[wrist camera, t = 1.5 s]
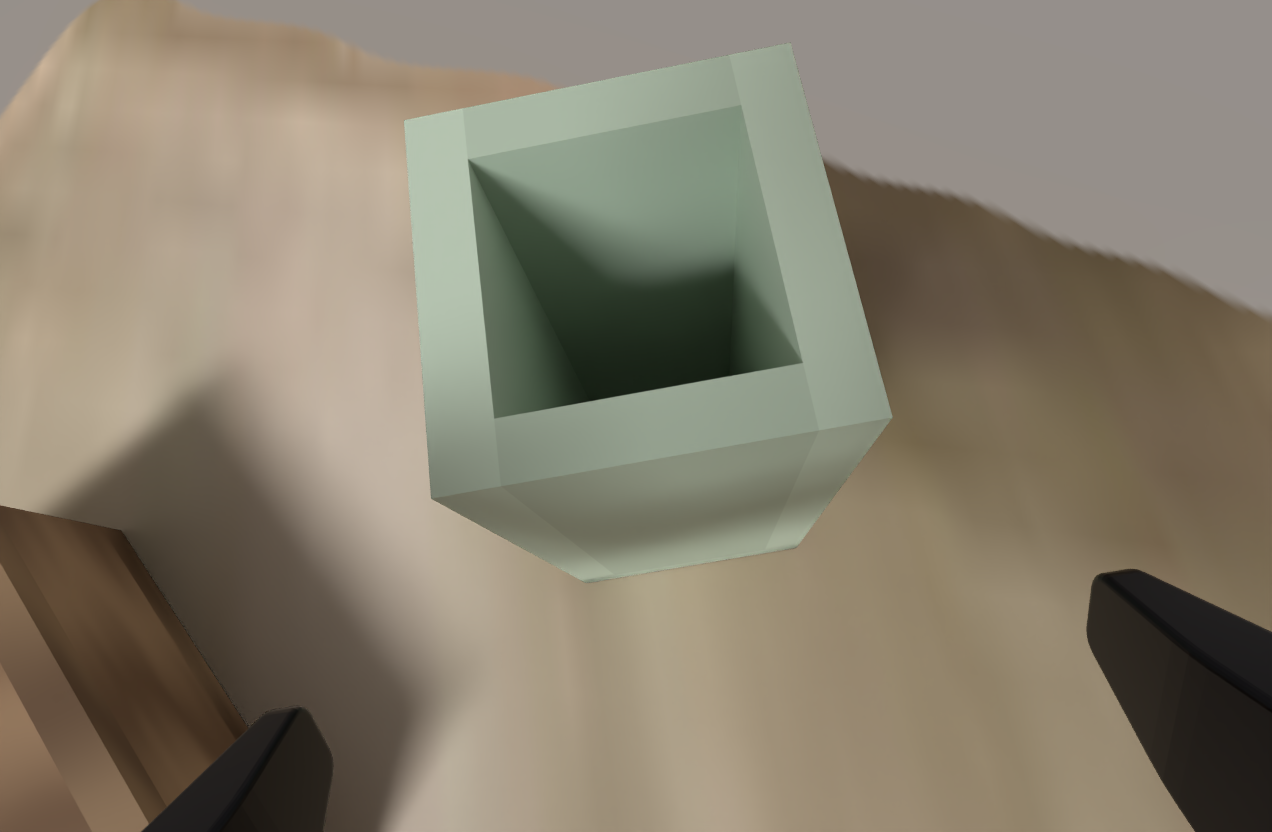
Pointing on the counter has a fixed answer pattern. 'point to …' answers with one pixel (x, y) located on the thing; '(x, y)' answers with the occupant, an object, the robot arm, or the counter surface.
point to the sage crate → (639, 317)
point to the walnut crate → (95, 684)
